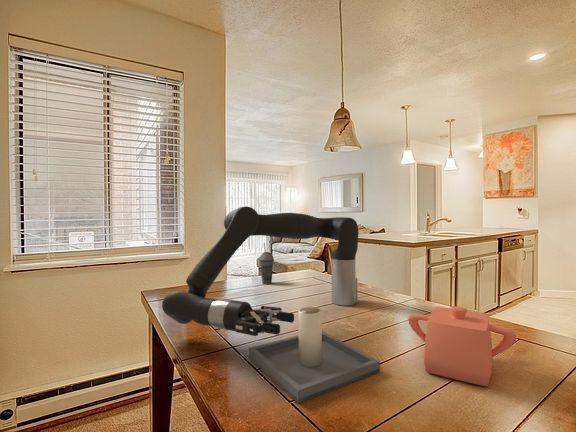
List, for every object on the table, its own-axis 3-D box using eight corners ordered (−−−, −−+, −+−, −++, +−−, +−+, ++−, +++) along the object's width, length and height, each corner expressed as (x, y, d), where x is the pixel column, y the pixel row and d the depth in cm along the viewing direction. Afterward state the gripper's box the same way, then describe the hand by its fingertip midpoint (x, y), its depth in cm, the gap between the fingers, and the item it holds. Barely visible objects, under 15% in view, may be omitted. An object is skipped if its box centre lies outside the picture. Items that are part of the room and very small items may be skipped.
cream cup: (313, 353, 79) (312, 305, 79) (327, 362, 75) (326, 311, 75) (294, 359, 77) (293, 309, 76) (307, 369, 72) (306, 315, 72)
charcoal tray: (320, 338, 91) (320, 329, 91) (379, 372, 72) (379, 361, 72) (248, 357, 79) (248, 347, 79) (297, 403, 61) (297, 390, 61)
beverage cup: (272, 285, 154) (271, 243, 154) (257, 284, 156) (257, 243, 155) (275, 282, 162) (275, 242, 161) (261, 281, 163) (261, 242, 163)
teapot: (519, 399, 62) (520, 327, 62) (401, 369, 74) (401, 308, 73) (512, 358, 79) (513, 301, 78) (417, 339, 90) (417, 290, 90)
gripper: (213, 308, 78) (274, 317, 71) (244, 294, 91) (297, 300, 84) (213, 339, 78) (274, 350, 71) (244, 320, 91) (297, 328, 84)
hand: (287, 323), depth 78 cm, fingers open, 8 cm apart
